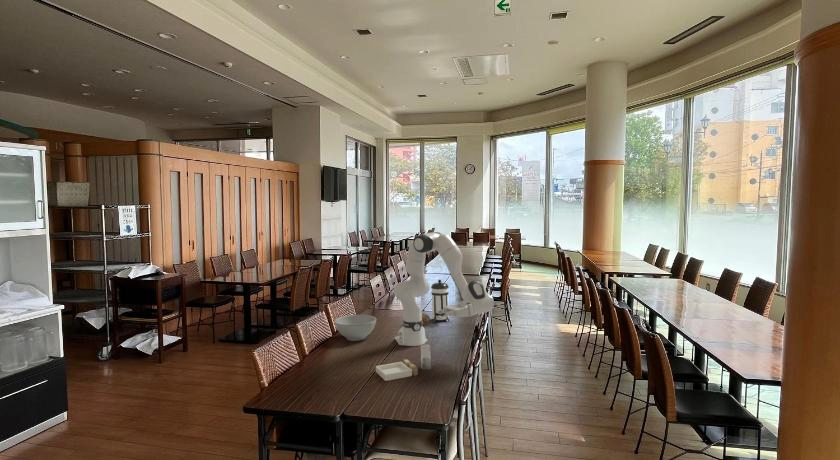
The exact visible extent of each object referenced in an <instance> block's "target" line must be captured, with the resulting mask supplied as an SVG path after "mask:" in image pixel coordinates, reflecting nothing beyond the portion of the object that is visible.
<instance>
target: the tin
mask: <svg viewBox="0 0 840 460" xmlns="http://www.w3.org/2000/svg"><path fill="white" fill-rule="evenodd" d="M422 320H423V327H425V326H428V325H429V323H430V322H431V318H430V316H429V315H428V314H426V313H422Z"/></svg>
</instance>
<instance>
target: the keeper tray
mask: <svg viewBox="0 0 840 460" xmlns="http://www.w3.org/2000/svg"><path fill="white" fill-rule="evenodd" d="M375 373H376V374H377V375H378V376H379V377H381V378H382V379H383V381H385V382H387V381H392V380H398V379H403V378H410V377H412V376H413V374H412V370H411V369H410V368H409V367H407V366H406V365H405V364H403V361H399V362H398V361H397V362H391V363H387V364H386V363H385V364H381V365H376V366H375Z"/></svg>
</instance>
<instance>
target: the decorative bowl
mask: <svg viewBox="0 0 840 460" xmlns="http://www.w3.org/2000/svg"><path fill="white" fill-rule="evenodd" d="M376 324H377V317H375V316H373V315H371V314H370V315H369V314H351V315H345V316H344V315H343V316H341V317H338V318H336V319H334V325H335V329H337V331H338V332H339V334H340V335H341V336H343V337H344V338H346V340H348V341H349V342H350V341H351V342H358V341H363V340H365V339H366V338H367V336H368V335H370V334H371V333H372V331H373V330H374V329H375V326H376Z"/></svg>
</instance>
